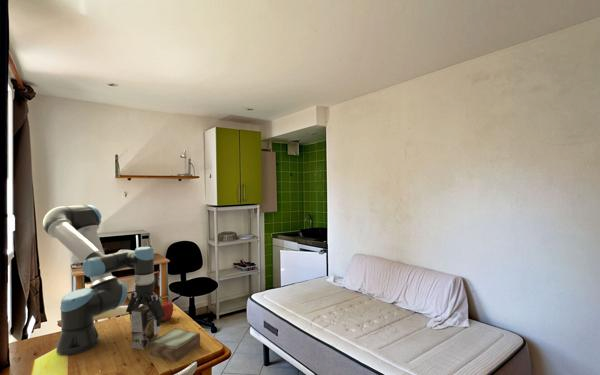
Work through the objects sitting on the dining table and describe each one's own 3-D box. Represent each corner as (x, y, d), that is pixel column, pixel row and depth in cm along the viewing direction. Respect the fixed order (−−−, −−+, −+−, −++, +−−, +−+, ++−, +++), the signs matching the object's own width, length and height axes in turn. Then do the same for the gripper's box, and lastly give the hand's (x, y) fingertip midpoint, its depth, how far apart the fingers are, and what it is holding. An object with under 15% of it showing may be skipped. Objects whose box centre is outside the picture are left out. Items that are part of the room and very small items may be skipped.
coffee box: (144, 350, 135) (143, 312, 134) (131, 348, 136) (130, 311, 136) (158, 339, 143) (157, 304, 143) (146, 338, 145) (145, 303, 145)
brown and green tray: (150, 354, 131) (149, 342, 131) (175, 339, 144) (174, 327, 144) (176, 361, 126) (176, 348, 126) (200, 344, 139) (199, 332, 139)
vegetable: (147, 320, 164) (147, 300, 164) (166, 313, 172) (166, 295, 172) (157, 326, 157) (157, 306, 157) (177, 319, 165) (177, 300, 164)
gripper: (116, 282, 140) (117, 329, 141) (159, 288, 131) (160, 339, 132) (131, 277, 147) (132, 322, 148) (173, 283, 138) (173, 331, 138)
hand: (145, 330), depth 140 cm, fingers open, 13 cm apart
